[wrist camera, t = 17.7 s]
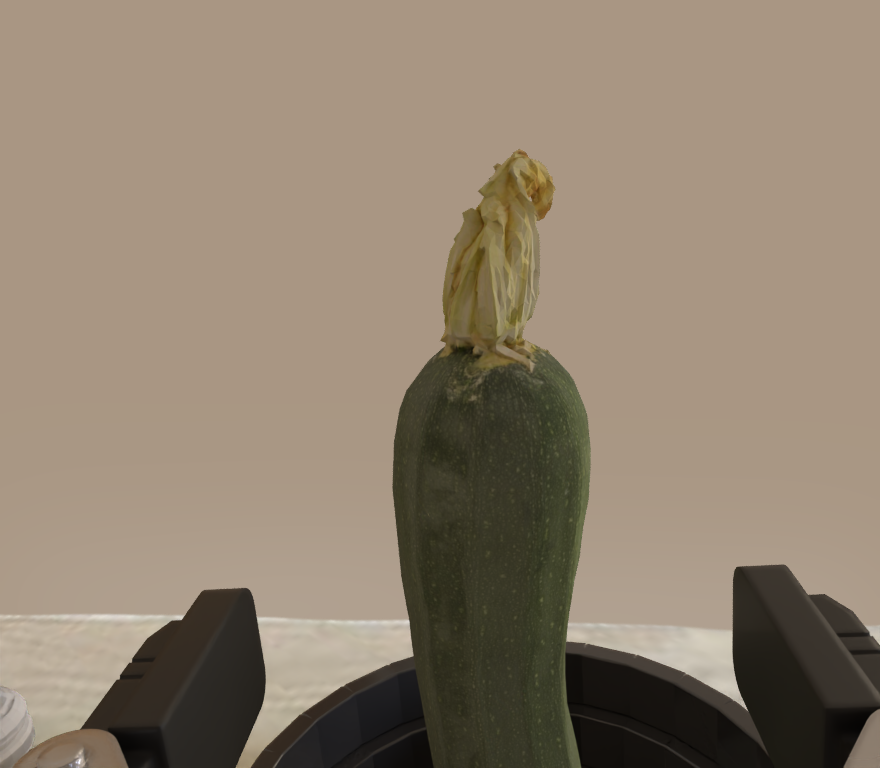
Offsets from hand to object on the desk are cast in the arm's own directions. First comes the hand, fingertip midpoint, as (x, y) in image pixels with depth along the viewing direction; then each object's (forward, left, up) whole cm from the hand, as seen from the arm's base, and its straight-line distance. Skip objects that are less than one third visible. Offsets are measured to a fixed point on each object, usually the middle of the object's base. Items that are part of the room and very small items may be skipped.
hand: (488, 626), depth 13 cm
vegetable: (0, -5, -13) cm, 13 cm away
